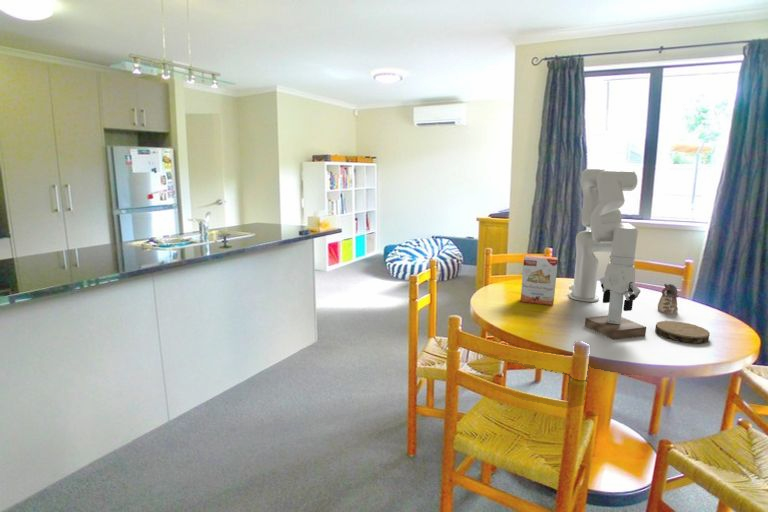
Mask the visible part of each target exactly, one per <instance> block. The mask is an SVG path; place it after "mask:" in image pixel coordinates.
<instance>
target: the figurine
mask: <svg viewBox="0 0 768 512" xmlns="http://www.w3.org/2000/svg"><path fill="white" fill-rule="evenodd" d="M663 286H664V288H663V289H662V290H661V294H662V295H661V296H660V299H659V301H658V303H657V310H658V312H660V311H661V312H660V313H663V312H664V314H667V313H669V314H668V315H675V314H678V310H679V309H678V299H677V298H679V297H680V296H679V295H678V287H677V286H676V285H675V284H673V283H669V284H667V283H664V284H663Z"/></svg>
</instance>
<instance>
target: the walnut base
mask: <svg viewBox="0 0 768 512" xmlns="http://www.w3.org/2000/svg"><path fill="white" fill-rule="evenodd" d="M584 319H585V321H584V327H585V326H586V328H588V329H590V330H592V329H593V330H592V331H594V330H595V331H594V332H596V331H597V332H596V333H598V332H599V333H598V334H600V333H601V334H600V335H602V334H603V335H602V336H604V335H605V336H604V337H606V336H607V337H606V338H608V337H609V338H608V339H610V338H611V340H612V339H613V341H614V340H615V339H616V340H623V339H630V338H631V339H632V337H633V338H641V337H646V335H647V334H646V332H647V326H646V325H642V324H640V323H638V322H635V321H633V320H630V319H627V318H625V317H623V316H621V322H620V324H613V323H608V314H607V315H598V316H597V315H596V316H588V317H585V318H584Z"/></svg>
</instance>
